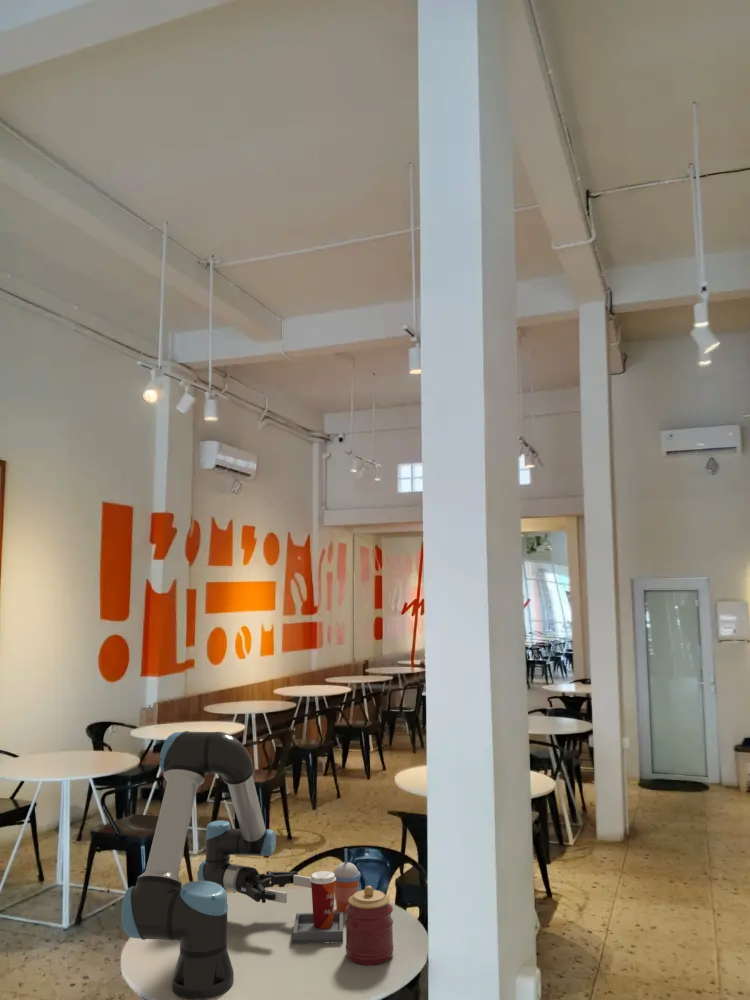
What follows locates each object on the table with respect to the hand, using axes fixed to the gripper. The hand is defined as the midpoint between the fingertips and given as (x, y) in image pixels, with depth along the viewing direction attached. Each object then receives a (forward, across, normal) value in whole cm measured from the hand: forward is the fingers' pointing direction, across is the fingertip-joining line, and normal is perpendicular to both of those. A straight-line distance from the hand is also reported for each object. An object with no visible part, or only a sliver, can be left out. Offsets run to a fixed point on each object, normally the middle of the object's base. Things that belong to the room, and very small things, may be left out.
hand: (299, 890), depth 228 cm
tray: (+7, 0, -11) cm, 13 cm away
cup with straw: (+5, -19, -11) cm, 22 cm away
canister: (+27, +6, -11) cm, 30 cm away
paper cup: (+6, -3, -10) cm, 12 cm away
